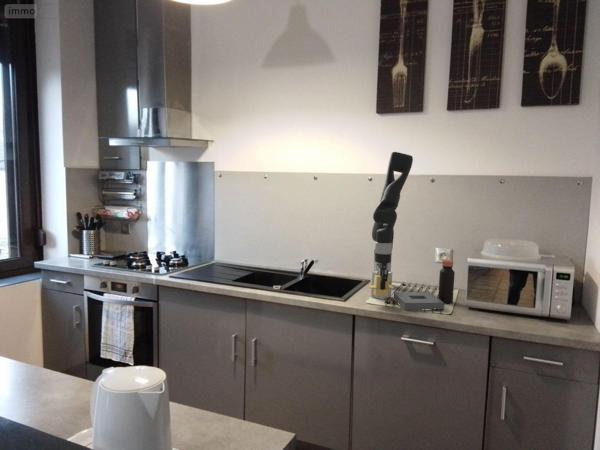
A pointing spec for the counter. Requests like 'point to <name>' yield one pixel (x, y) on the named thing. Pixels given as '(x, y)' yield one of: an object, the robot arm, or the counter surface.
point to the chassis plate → (418, 300)
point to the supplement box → (389, 284)
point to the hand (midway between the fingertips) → (381, 287)
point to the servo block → (377, 287)
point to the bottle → (446, 282)
